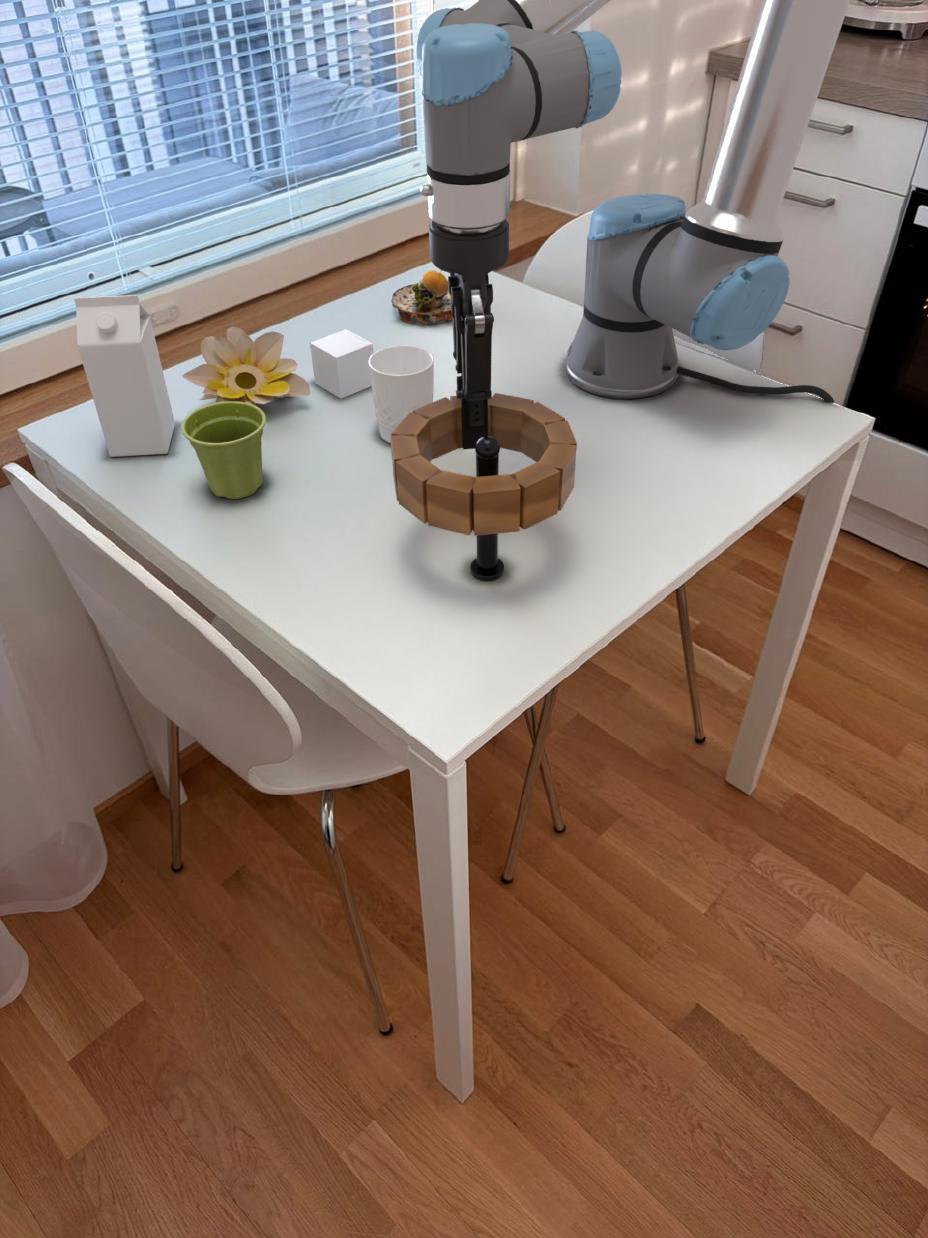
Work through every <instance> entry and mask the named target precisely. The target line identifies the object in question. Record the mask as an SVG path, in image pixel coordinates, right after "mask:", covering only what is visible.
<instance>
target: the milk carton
mask: <svg viewBox="0 0 928 1238" xmlns="http://www.w3.org/2000/svg"><path fill="white" fill-rule="evenodd" d="M73 301H74V303H75V309H76V312H75V313H76V345H77V348H78V352H79V355H80V359H81V363H82V365H83V369H84V372H85V376H86V380H87V384H88V386H89V390H90V393H91V396H92V400H93V403H94V406H95V410H96V413H97V417H98V420H99V424H100V427H101V430H102V434H103V438H104V441H105V444H106V447H107V451H108V455H109V456H110V457H129V456H130V457H131V456H150V455H166V454H168V453H169V451H170V445H171V441H172V438H173V434H174V430H175V426H176V421H175V417H174V412H173V408H172V403H171V400H170V396H169V392H168V391H169V390H168V387H167V383H166V379H165V374H164V370H163V366H162V361H161V358H160V354H159V350H158V349H159V348H158V344H157V342H156V341H157V340H156V337H155V332H154V328H153V323H152V319H151V314H149V313H148V311H146V309H145V308H144V307H143V306H142V305H141V303H140V300H139V295H138V294H127V295H107V296H105V295H104V296H85V297H84V296H83V297H74V298H73Z"/></svg>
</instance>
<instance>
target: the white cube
mask: <svg viewBox="0 0 928 1238" xmlns="http://www.w3.org/2000/svg"><path fill="white" fill-rule="evenodd" d="M309 346H310V353H311V362H312V369H313V377H314V384H315V385H317V386H319V387H320V388H322V389H323V390H325V391H327V392H329V393H330V394H332V395H334V396H335V397H337V398H339V399H340V400H343V399H344V398H347V397H349V396H352V395H354V394H356V393H358V392H361V391H364V390H365V389H368V388H370V387H372V385H371V377H370V369H369V358H370V357H371V355H372V354H374V353H375V352H374V343H373V342H371V341H369V340H367V339H365V338H363V337H362V336H360V335H359V334H356V333H354V332H352V331H350V330H348V329H347V328H345V329H342V330H339V331H336V332H334V333H331V334H329V335H326V336H324V337H321V338H317V339H315V340H313V341H310V342H309Z"/></svg>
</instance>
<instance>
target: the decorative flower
mask: <svg viewBox="0 0 928 1238" xmlns="http://www.w3.org/2000/svg"><path fill="white" fill-rule="evenodd" d="M284 338H285V337H284V334H282V333H280V332H277V331H272V330H271V331H267V332H264V333H263V334H261V335H259V336H258V337H257V338H255V340H253V339H252V338H251V336H250V335H248V334H247V333H246V332H245V331H244V330H243V329H241V328H240V327H237V326H231V327H228V328H227V329H226V338H225V337H224V336H223V337H222V336H217V337H215V336H213V335H211V336H206V337H204V338H203V339H202V340H201V342H200V353H201V357H202V358H203V360H204V361H205V363H204V364H203V363H202V364H201V365H199V366H196V367H194V368H193V369H191V370H189V371H187V372H185V373H184V374H182V375H181V377H182V379H184V380H186V381H188V382H189V383H191V384H194V385H196V386H198V387H200V388H201V387H202V388H204V389H203V391H202V394H203V395H202V397H200V399H199V401H206V400H212V399H215V402H214V403H219V402H234V401H237V402H245V403H249V404H252V405H254V406H257V405H260V406H262V405H265V404H267V403H271V402H272V401H273V400H274V398H277V399H282V398H286V397H309V396H311V393H312V392H311V388H310V384H309V383H308V381H306V379H304V377H301V376H300V375H299V374H296V373H293V372H295V371H296V370H297V368H298V362H297V361H296V360H295V359H293V358H287V357H285V358H281V356H282V350H283V346H284V345H283V344H284V340H285V339H284Z"/></svg>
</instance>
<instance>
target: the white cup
mask: <svg viewBox="0 0 928 1238" xmlns="http://www.w3.org/2000/svg"><path fill="white" fill-rule="evenodd" d="M369 369H370V377H371V385H372V386H371V393H372V397H373V404H374V405H373V406H374V410H375V416H376V419H377V427H378V432H379V433H378V434H379V435H380V438H381V439H382V440H383V441H384V442H387V443H388V444H391V439H390V436H392V435H391V433H392V432H393V431H394V430H395V428H396V427H397V426H398V425H399V424H400V423H401V422H402V420H403V419H404V418H405V417H406V416H407V415H408V413H412V411H413V410H415V409H417V408H420V407H422V406H425V405H427V404H430V403H432V402H434V395H435V394H434V393H435V392H434V391H435V389H434V387H435V383H434V381H435V378H434V377H435V358H434V355H433V354H432V353H431V352H430V351H429V350H428V349H425V348H423V347H420V346H415V345H411V344H406V345H405V344H400V345H399V344H398V345H391V346H385V347H384V348H380V349H378V350H377V351H375V352H374V354H372V355H371V357H370V358H369Z"/></svg>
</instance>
